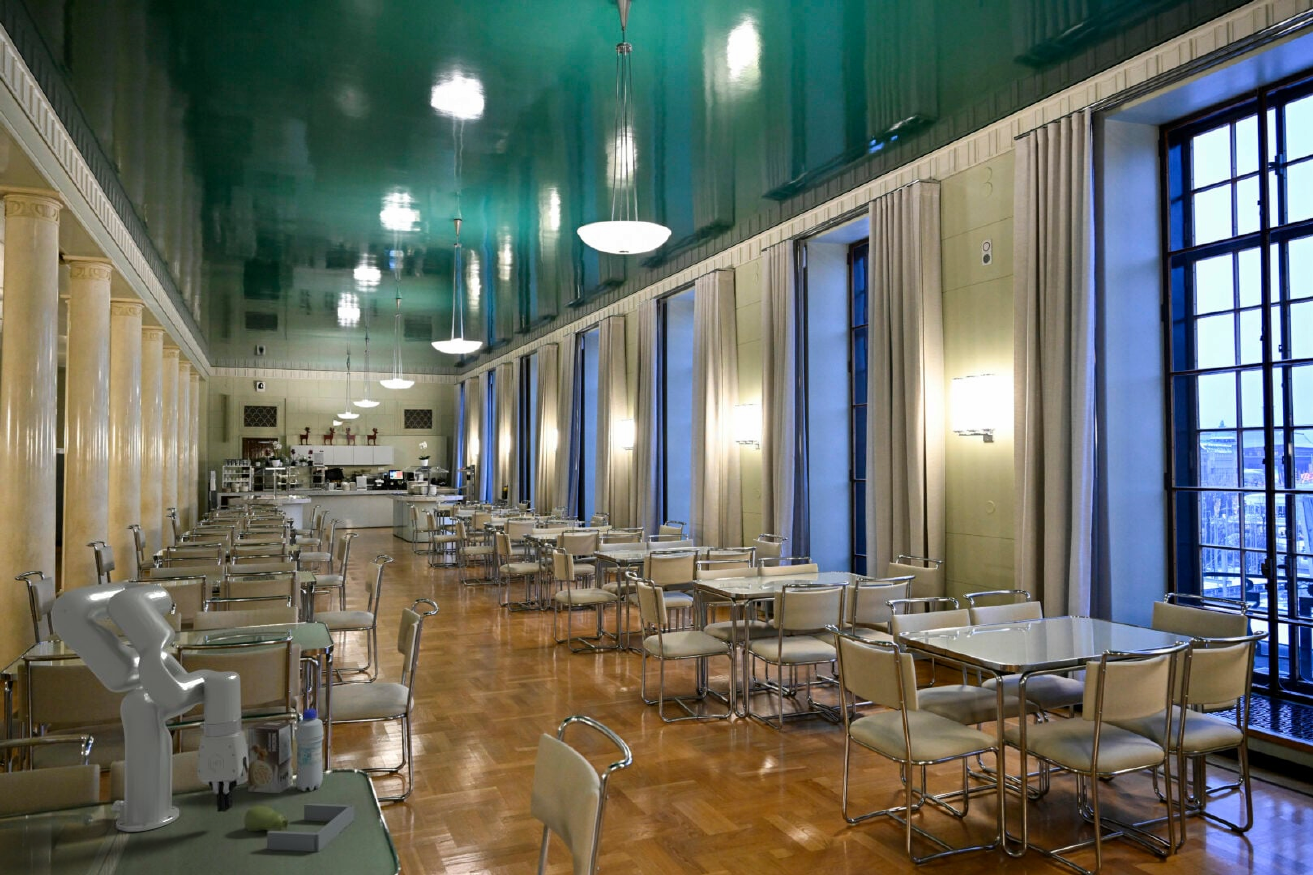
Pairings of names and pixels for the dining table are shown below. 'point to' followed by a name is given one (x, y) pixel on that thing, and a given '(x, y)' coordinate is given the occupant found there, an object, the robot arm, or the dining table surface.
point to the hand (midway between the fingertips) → (225, 809)
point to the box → (313, 841)
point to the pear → (264, 819)
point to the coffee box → (270, 757)
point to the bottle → (309, 751)
